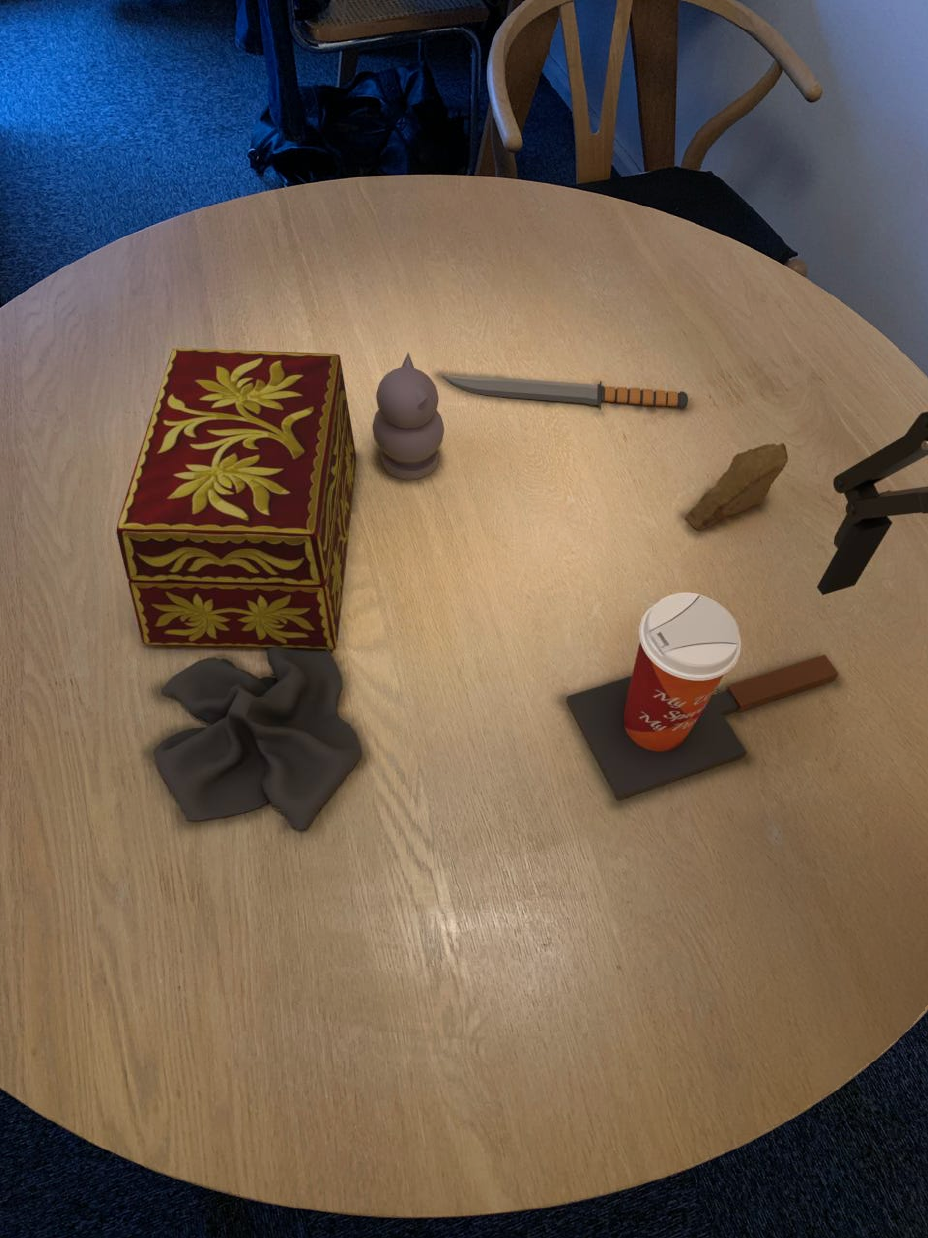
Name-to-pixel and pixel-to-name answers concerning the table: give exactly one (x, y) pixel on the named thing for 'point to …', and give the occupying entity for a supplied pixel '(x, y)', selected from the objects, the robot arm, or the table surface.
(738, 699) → the spatula
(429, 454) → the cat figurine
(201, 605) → the decorative box
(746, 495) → the rock
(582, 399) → the knife
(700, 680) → the coffee cup
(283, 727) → the cloth
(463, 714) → the table surface
